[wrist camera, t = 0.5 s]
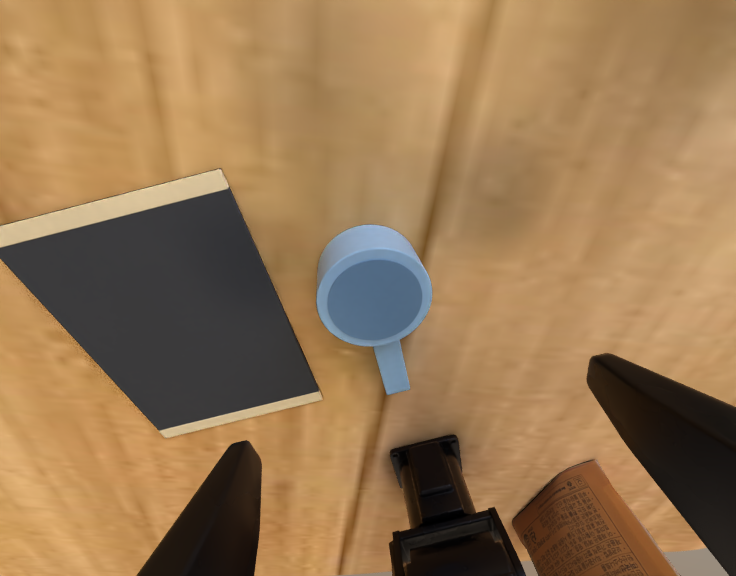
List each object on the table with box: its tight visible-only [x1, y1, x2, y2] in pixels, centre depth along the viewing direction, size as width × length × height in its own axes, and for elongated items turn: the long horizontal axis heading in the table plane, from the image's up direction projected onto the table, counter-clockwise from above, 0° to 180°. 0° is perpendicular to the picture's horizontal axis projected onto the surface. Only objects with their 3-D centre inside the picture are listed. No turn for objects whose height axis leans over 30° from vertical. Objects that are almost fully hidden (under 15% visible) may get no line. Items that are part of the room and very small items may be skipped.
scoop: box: [316, 225, 432, 395], centre depth 21 cm, size 12×6×4 cm, turn 13°
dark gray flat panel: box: [0, 168, 323, 438], centre depth 21 cm, size 18×13×1 cm
